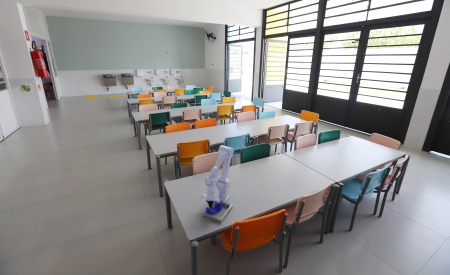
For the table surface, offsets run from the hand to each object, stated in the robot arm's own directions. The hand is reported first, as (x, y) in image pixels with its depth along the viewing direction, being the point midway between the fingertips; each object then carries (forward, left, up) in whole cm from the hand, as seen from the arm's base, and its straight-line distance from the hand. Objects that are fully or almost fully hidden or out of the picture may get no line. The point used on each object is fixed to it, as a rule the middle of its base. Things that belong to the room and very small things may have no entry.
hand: (210, 207), depth 164 cm
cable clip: (+2, +3, -2) cm, 4 cm away
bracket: (0, +6, -1) cm, 6 cm away
